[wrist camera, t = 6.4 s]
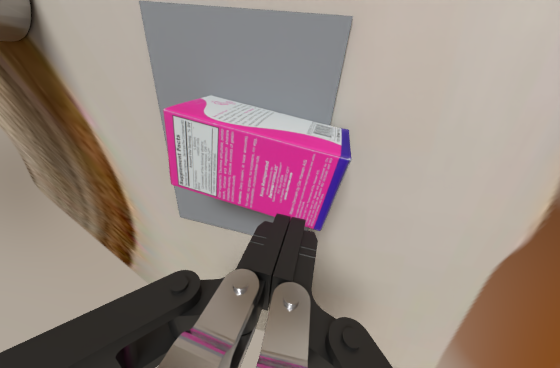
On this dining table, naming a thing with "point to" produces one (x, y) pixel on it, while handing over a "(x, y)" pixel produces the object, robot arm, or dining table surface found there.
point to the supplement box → (256, 157)
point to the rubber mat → (243, 73)
